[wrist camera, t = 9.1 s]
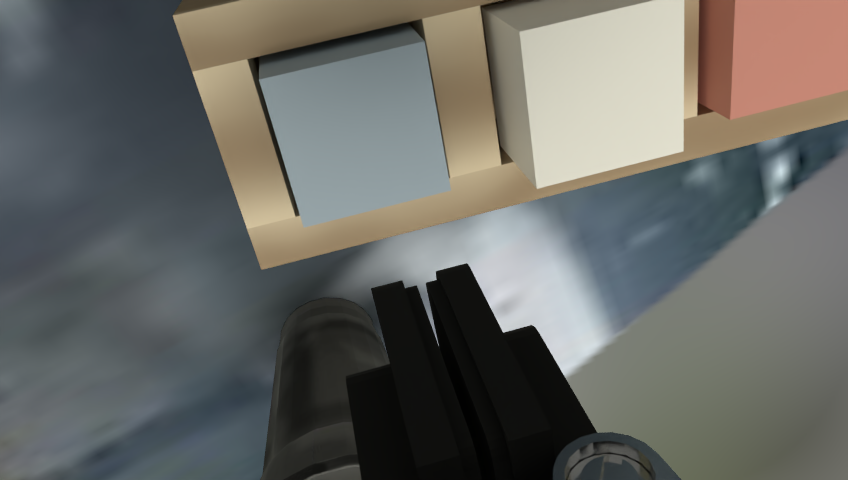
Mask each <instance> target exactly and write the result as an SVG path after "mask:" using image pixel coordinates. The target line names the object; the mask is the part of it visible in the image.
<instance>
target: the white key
mask: <svg viewBox="0 0 848 480" xmlns="http://www.w3.org/2000/svg"><path fill="white" fill-rule="evenodd" d="M482 13H483V20H484V28H485V35H486V43H487V50H488V57H489V65H490V72H491V80H492V87H493V95H494V102H495V110H496V117H497V125H498V132H499V140H500V146H501V147H502V148H503V150H504V151H505V152H506V153H507V154H508V155H509V157H510V158H511V159H512V160H513V161H514V163H515V164H516V165H517V166H518V167H519V168H520V170H521V171H522V172H523V173H524V174H525V176H526V177H527V178H528V179H529V180H530V181H531V183H532V184H533V185H534V186H535V187H536V189H538V188H542V187H546V186H550V185H554V184H558V183H562V182H566V181H570V180H574V179H577V178H581V177H585V176H589V175H593V174H597V173H601V172H605V171H609V170H613V169H617V168H621V167H624V166H628V165H632V164H636V163H640V162H644V161H648V160H652V159H656V158H660V157H664V156H668V155H671V154H675V153H679V152H683V151H684V0H512V1H508V2H504V3H499V4H495V5H491V6H486V7H482Z"/></svg>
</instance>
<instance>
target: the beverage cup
mask: <svg viewBox="0 0 848 480" xmlns="http://www.w3.org/2000/svg"><path fill="white" fill-rule="evenodd" d="M388 364H390V362H389V358H388V356H387V353H386V351H385V348H384V346H383V343H382V341H381V338H380V337H379V335H378V334H377V332H376V330H375V328H374V327H373V323H372V320H371V319H370V317H369V316H368V314H367V313H366V311H365V310H363V309H362V308H361V307H359V306H358V305H356V304H355V303H353V302H350V301H347V300H344V299H340V298H323V299H319V300H314V301H310V302H308V303H307V304H305V305H303V306H301V307H299V308H297V309H296V310H295V311H294V312H293V313H292V314H291V315H290V316H289V317H288V318H287V320H286V322H285V324H284V326H283V328H282V330H281V340H280V345H279V348H278V350H277V358H276V366H275V375H274V383H273V392H272V400H271V409H270V417H269V426H268V434H267V442H266V451H265V459H264V468H263V475H262V477H261V479H260V480H361V474H360V467H359V461H358V455H357V449H356V442H355V436H354V430H353V424H352V417H351V411H350V405H349V398H348V392H347V386H346V376H348V375H351V374H355V373H359V372H362V371H366V370H370V369H373V368H377V367H381V366H384V365H388Z"/></svg>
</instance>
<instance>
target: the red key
mask: <svg viewBox="0 0 848 480" xmlns="http://www.w3.org/2000/svg"><path fill="white" fill-rule="evenodd" d="M847 90H848V0H699V37H698V99H697V102H698V103H700V104H702V105H704V106H705V107H707V108H709V109H711V110H713V111H715V112H717V113H718V114H720V115H722V116H724V117H726V118H728V119H729V120H732V119H736V118H740V117H744V116H748V115H752V114H756V113H759V112H763V111H767V110H771V109H775V108H779V107H783V106H787V105H791V104H795V103H799V102H803V101H807V100H811V99H815V98H819V97H823V96H827V95H831V94H835V93H839V92H843V91H847Z"/></svg>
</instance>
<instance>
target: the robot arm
mask: <svg viewBox="0 0 848 480" xmlns="http://www.w3.org/2000/svg"><path fill="white" fill-rule="evenodd" d="M436 278H437V280H435V281H431V282H427V283H426V287H427V292H428V297H429V301H430V306H431V311H432V315H433V320H434V325H435V329H436V334H437V339H438V343H437V340H436V338H435V335H434V332H433V329H432V326H431V324H430V321H429V318H428V315H427V313H426V310H425V307H424V304H423V302H422V299H421V296H420V293H419V290H418V288H417V286H412V287H408V288H405V287H404V284H403V282H402V281H398V282H394V283H390V284H386V285H383V286H379V287H375V288H371V290H372V294H373V298H374V302H375V306H376V310H377V314H378V318H379V322H380V326H381V330H382V334H383V338H384V342H385V346H386V350H387V354H388V358H389V362H390V364H388V365H384V366H381V367H377V368H373V369H370V370H366V371H362V372H359V373H355V374H351V375H348V376H346V386H347V392H348V398H349V405H350V411H351V417H352V424H353V430H354V436H355V442H356V449H357V455H358V461H359V467H360V474H361V480H681V479H680V478H679V477H678V475H677V474H676V473H675V472H674V471H673V470H672V469H671V468H670V467H669V465H668V464H667V463H666V462H665V461H664V460H663V459H662V458H661V457H660V456H659V454H657V453H656V452H655V451H654V450H653V449H652V448H650V447H649V446H648V445H647V444H646V443H644V442H642V441H640V440H637V439H635V438H633V437H631V436H628V435H623V434H618V433H613V432H610V433H597V432H596V430H595V428H594V427H593V425H592V423H591V421H590V420H589V418H588V416H587V414H586V413H585V411H584V409H583V408H582V406H581V404H580V402H579V401H578V399H577V397H576V396H575V394H574V392H573V390H572V389H571V388H570V385H569V384H568V382H567V380H566V378H565V377H564V375H563V373H562V372H561V370H560V368H559V366H558V365H557V363H556V361H555V360H554V358H553V356H552V354H551V353H550V351H549V349H548V348H547V346H546V344H545V342H544V341H543V339H542V337H541V336H540V334H539V332H538V331H537V329H536V328H535V327H534V326H532V325H530V326H527V327H523V328H519V329H516V330H512V331H508V332H505V333H503V332H502V330H501V328H500V326H499V324H498V322H497V320H496V318H495V316H494V314H493V312H492V310H491V308H490V306H489V304H488V302H487V300H486V298H485V296H484V294H483V292H482V290H481V288H480V286H479V284H478V283H477V281H476V279H475V277H474V275H473V273H472V271H471V269H470V267H469V265H468V264H467V263H466V264H462V265H458V266H455V267H451V268H447V269H443V270H439V271H436ZM438 344H439V346H438ZM439 348H440V349H439Z"/></svg>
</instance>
